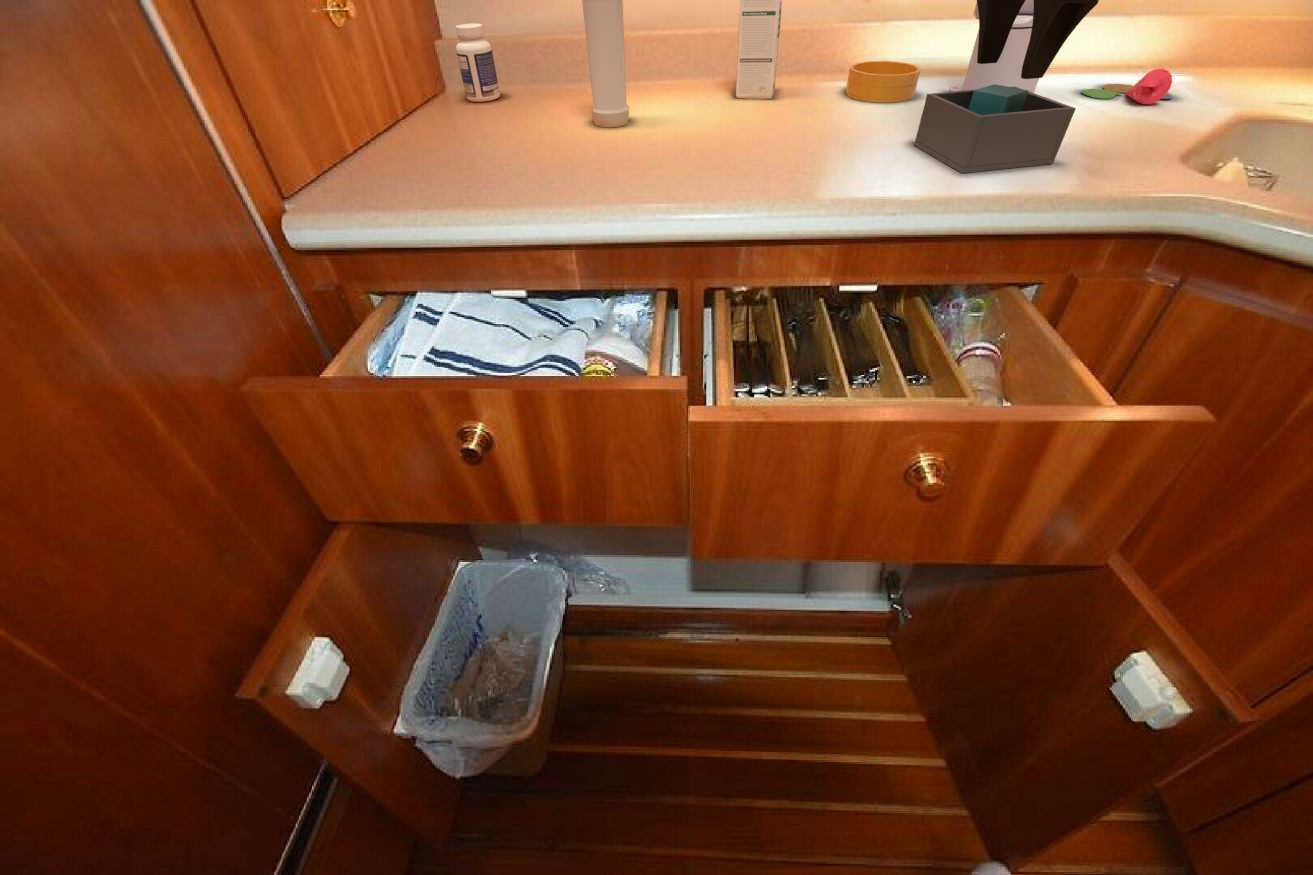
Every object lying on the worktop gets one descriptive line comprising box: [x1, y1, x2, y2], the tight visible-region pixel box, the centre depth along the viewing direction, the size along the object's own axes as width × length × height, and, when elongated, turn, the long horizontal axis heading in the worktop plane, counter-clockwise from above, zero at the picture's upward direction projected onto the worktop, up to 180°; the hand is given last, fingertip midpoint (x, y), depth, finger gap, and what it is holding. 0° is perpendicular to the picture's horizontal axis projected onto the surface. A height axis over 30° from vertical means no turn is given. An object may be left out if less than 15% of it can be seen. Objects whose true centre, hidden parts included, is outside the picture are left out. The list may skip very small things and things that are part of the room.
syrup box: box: [735, 0, 783, 100], centre depth 87 cm, size 6×6×14 cm
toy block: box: [968, 84, 1028, 115], centre depth 66 cm, size 4×4×6 cm
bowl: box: [845, 60, 922, 104], centre depth 88 cm, size 10×10×4 cm
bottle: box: [581, 0, 630, 128], centre depth 74 cm, size 5×5×25 cm
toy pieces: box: [1080, 67, 1173, 105], centre depth 84 cm, size 12×11×4 cm
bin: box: [913, 86, 1077, 174], centre depth 66 cm, size 11×10×6 cm
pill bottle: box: [455, 22, 501, 103], centre depth 91 cm, size 5×5×10 cm
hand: (1008, 70), depth 63 cm, fingers open, 7 cm apart
